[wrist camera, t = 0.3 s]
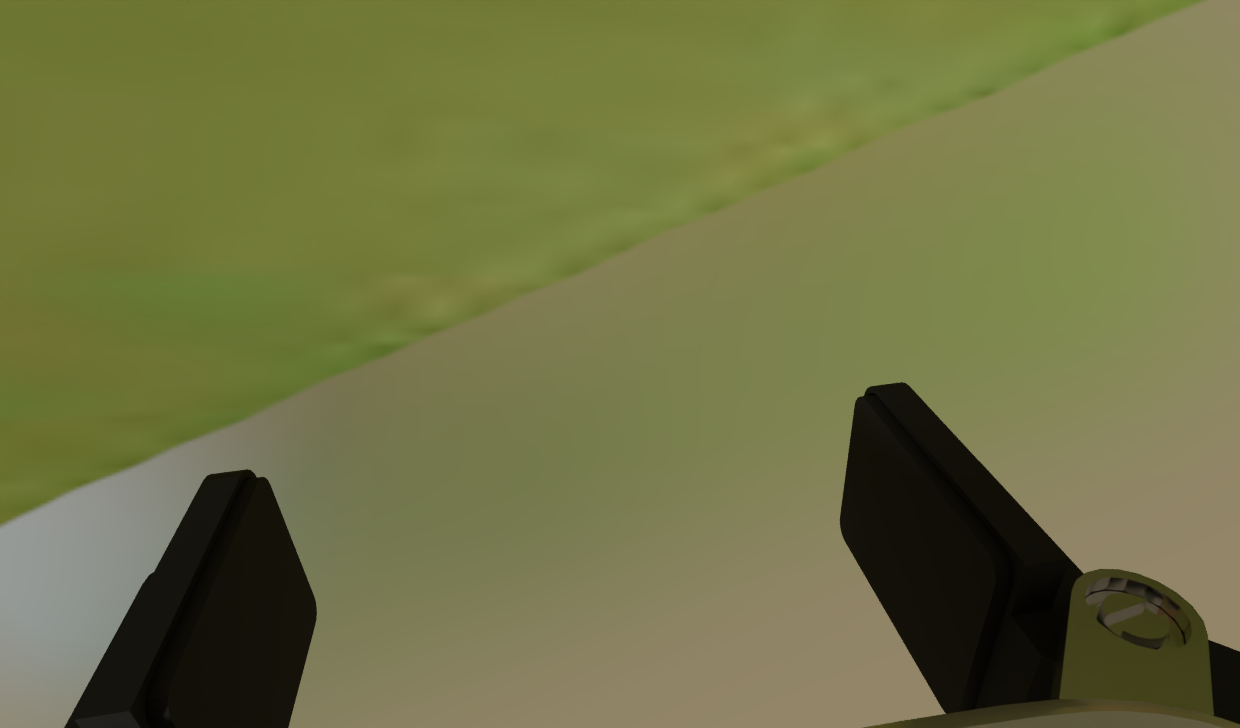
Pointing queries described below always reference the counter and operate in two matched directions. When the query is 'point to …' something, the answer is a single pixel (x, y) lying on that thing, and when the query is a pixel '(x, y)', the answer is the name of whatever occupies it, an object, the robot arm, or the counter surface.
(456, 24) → the counter surface
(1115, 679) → the robot arm
